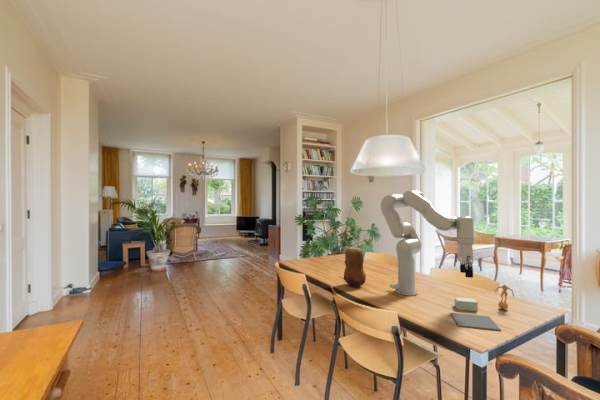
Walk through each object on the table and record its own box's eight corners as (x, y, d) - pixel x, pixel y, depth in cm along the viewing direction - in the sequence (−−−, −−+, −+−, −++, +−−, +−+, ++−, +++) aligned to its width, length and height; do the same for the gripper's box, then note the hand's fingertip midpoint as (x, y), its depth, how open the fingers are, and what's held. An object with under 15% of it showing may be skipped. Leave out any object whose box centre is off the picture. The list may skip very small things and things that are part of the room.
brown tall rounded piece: (362, 282, 188) (362, 245, 188) (368, 289, 174) (367, 248, 174) (342, 283, 187) (341, 245, 187) (346, 289, 174) (345, 249, 174)
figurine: (492, 307, 142) (491, 284, 142) (497, 304, 146) (496, 281, 146) (511, 312, 136) (511, 288, 136) (516, 309, 139) (515, 285, 139)
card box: (457, 309, 141) (457, 300, 141) (454, 305, 146) (454, 297, 146) (477, 311, 138) (477, 302, 138) (474, 307, 143) (474, 298, 143)
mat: (458, 326, 122) (458, 325, 122) (450, 313, 135) (450, 312, 135) (500, 331, 117) (500, 329, 117) (488, 317, 130) (488, 316, 130)
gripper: (453, 238, 151) (454, 270, 151) (461, 243, 135) (462, 278, 135) (468, 239, 149) (469, 271, 149) (479, 243, 133) (480, 279, 132)
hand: (466, 274), depth 142 cm, fingers open, 9 cm apart
